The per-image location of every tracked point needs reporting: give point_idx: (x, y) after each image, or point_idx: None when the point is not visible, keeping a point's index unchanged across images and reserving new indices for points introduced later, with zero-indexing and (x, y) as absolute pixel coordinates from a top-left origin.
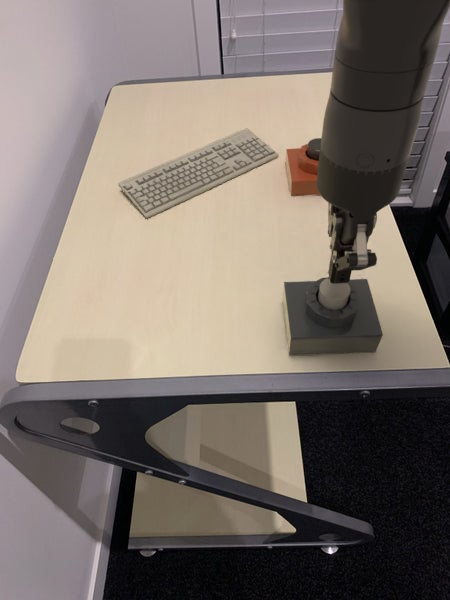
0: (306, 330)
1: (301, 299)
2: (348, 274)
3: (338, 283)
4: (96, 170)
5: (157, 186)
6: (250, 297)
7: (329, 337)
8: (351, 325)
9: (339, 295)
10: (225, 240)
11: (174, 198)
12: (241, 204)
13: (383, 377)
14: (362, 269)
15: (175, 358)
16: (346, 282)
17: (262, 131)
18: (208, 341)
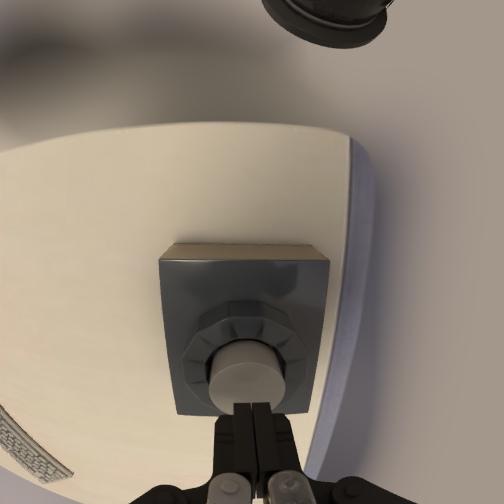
0: (297, 393)
1: None
2: (295, 445)
3: (231, 384)
4: (32, 480)
5: (29, 460)
6: (179, 417)
7: (317, 359)
8: (298, 320)
9: (272, 386)
10: (75, 422)
11: (35, 450)
12: (9, 385)
13: (358, 243)
14: (380, 488)
15: None
16: (284, 416)
17: None
18: None
